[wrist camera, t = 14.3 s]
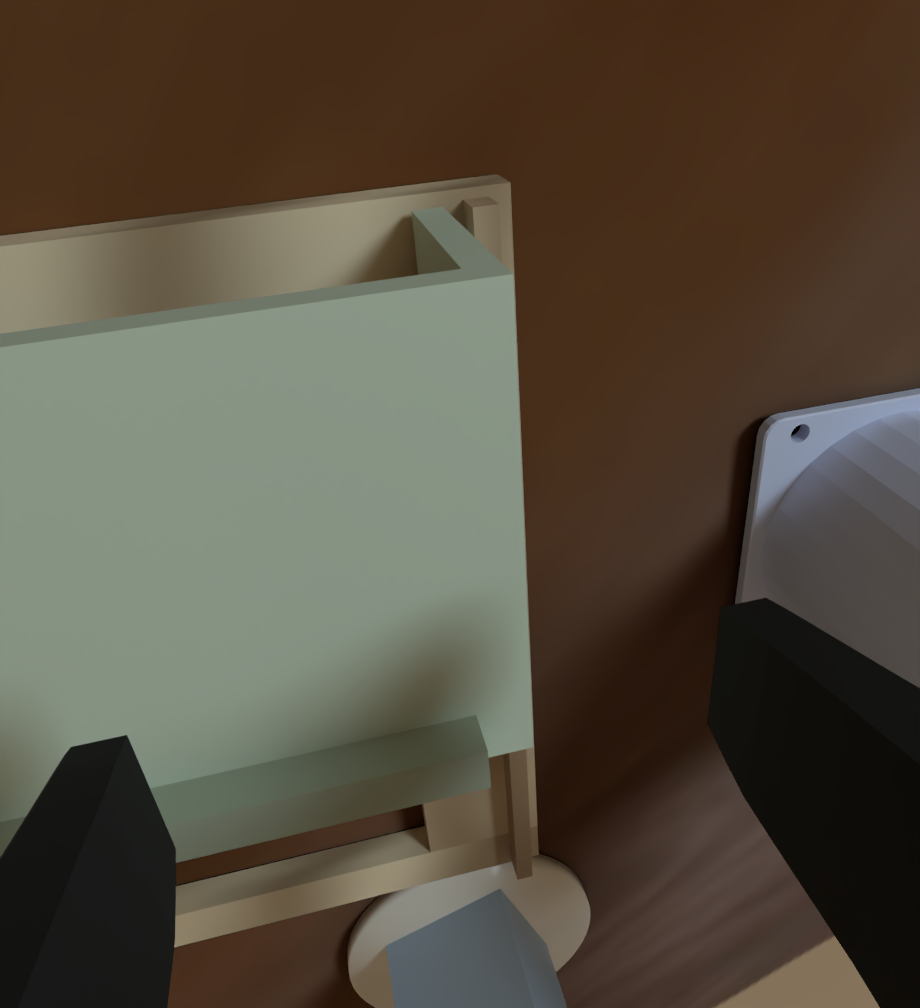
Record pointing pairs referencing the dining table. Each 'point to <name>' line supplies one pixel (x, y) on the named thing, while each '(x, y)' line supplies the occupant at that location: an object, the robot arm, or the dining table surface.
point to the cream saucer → (540, 899)
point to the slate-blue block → (475, 961)
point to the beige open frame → (258, 273)
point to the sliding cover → (270, 549)
